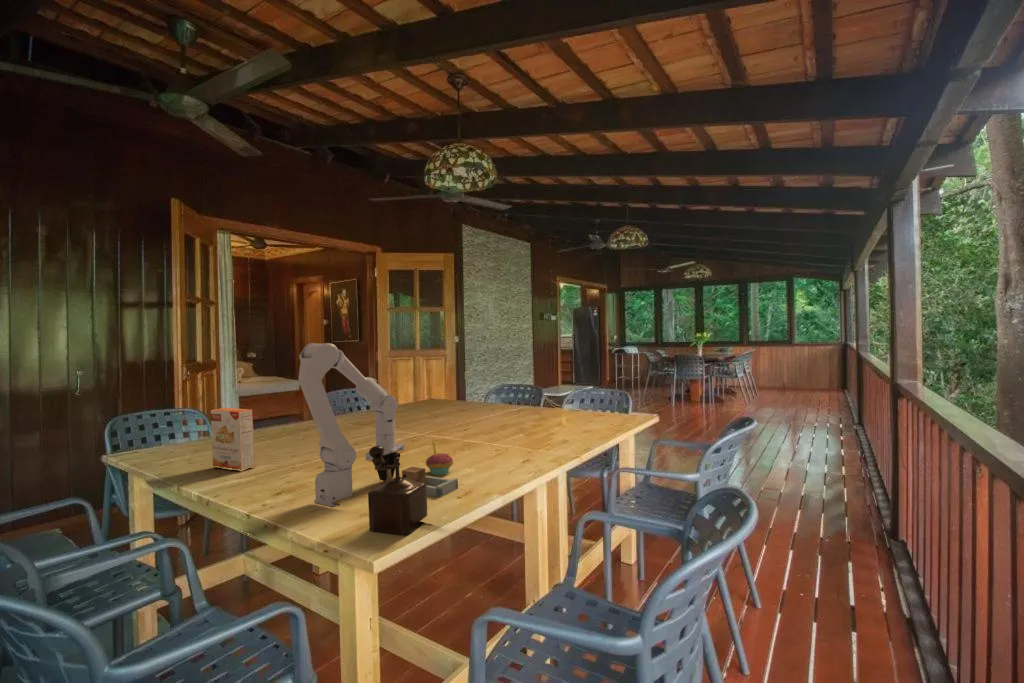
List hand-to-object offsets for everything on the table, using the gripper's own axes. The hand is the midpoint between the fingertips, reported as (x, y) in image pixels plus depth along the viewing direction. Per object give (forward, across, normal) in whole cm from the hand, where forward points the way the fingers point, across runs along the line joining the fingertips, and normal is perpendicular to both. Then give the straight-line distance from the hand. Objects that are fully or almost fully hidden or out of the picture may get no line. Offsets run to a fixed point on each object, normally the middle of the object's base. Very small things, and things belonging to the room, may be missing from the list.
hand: (386, 478), depth 150 cm
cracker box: (+2, -9, +64) cm, 64 cm away
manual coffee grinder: (+2, -22, -22) cm, 32 cm away
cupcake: (+2, +15, -8) cm, 17 cm away
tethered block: (+1, 0, -6) cm, 6 cm away
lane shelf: (+2, 0, -14) cm, 15 cm away
